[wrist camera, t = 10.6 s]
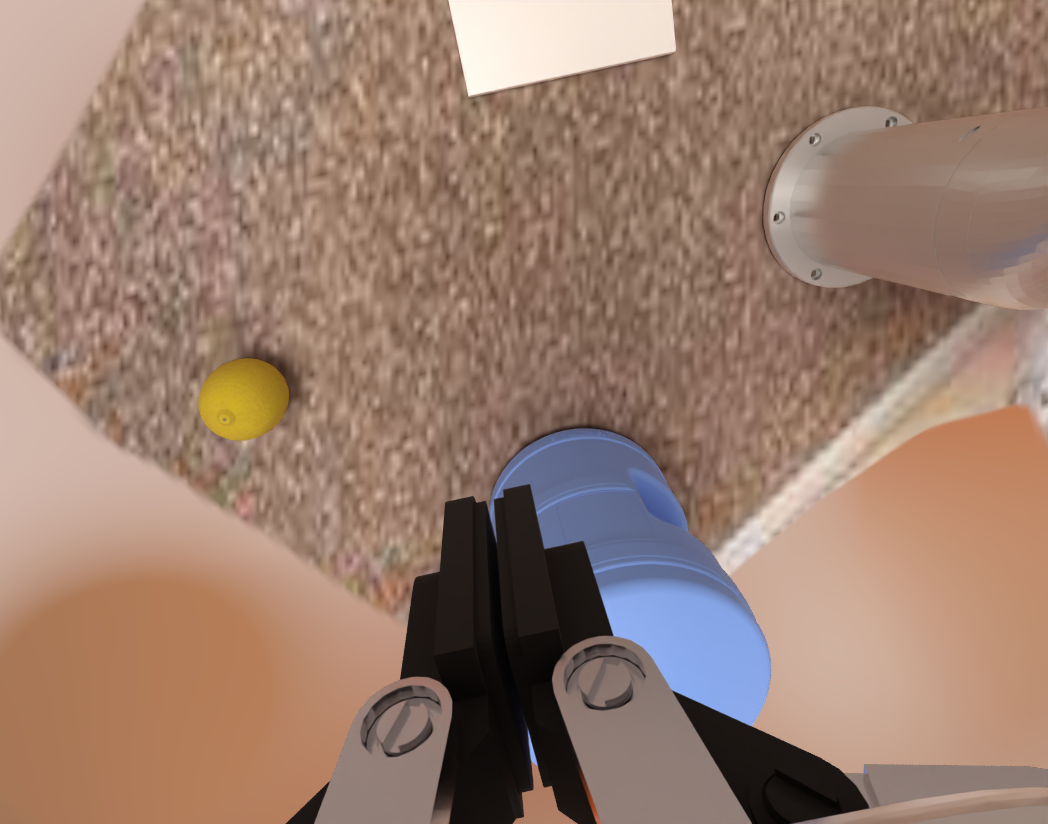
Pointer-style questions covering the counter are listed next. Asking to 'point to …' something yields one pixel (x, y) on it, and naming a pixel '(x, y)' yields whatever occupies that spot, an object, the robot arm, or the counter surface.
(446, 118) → the counter surface
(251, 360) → the lemon
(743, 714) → the water jug
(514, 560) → the robot arm
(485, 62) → the cutting board
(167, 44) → the counter surface
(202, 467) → the counter surface
